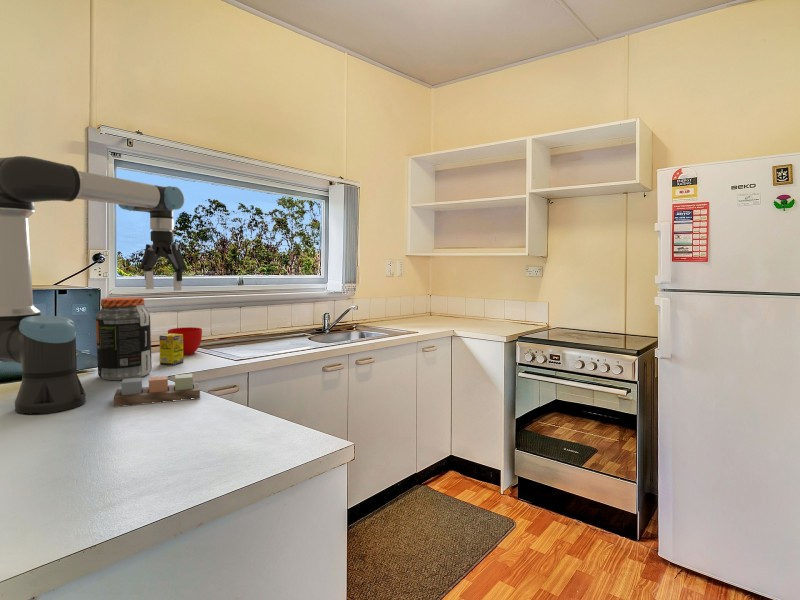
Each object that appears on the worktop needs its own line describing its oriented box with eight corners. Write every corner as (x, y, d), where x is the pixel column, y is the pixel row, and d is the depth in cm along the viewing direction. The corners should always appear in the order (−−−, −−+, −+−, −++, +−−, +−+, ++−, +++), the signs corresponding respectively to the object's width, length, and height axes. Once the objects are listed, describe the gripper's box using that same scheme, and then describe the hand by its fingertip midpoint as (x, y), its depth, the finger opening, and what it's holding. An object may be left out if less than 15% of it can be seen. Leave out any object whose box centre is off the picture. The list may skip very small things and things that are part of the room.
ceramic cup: (154, 357, 192) (153, 332, 191) (181, 349, 208) (180, 326, 208) (184, 359, 190) (183, 333, 189) (208, 351, 206) (208, 328, 205)
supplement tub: (162, 372, 166) (160, 297, 164) (122, 383, 152) (119, 301, 150) (128, 368, 172) (125, 296, 170) (86, 378, 157) (82, 299, 155)
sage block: (192, 385, 142) (192, 373, 141) (193, 389, 137) (192, 377, 137) (175, 386, 140) (174, 375, 139) (175, 390, 135) (174, 378, 135)
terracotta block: (167, 387, 139) (167, 375, 139) (167, 391, 135) (167, 379, 134) (149, 389, 137) (149, 377, 137) (148, 393, 133) (148, 380, 132)
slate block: (142, 389, 136) (141, 377, 136) (141, 394, 132) (140, 381, 132) (123, 391, 134) (123, 379, 134) (121, 395, 130) (121, 382, 130)
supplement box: (173, 365, 178) (173, 336, 177) (159, 364, 179) (158, 335, 178) (184, 362, 183) (183, 333, 183) (170, 361, 185) (169, 333, 184)
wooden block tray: (198, 390, 144) (198, 382, 144) (199, 398, 136) (199, 390, 136) (117, 398, 136) (117, 389, 135) (113, 407, 128) (113, 397, 127)
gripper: (196, 231, 173) (197, 290, 174) (145, 231, 182) (147, 288, 184) (179, 229, 166) (181, 291, 167) (127, 230, 175) (129, 289, 177)
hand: (163, 290), depth 175 cm, fingers open, 13 cm apart
